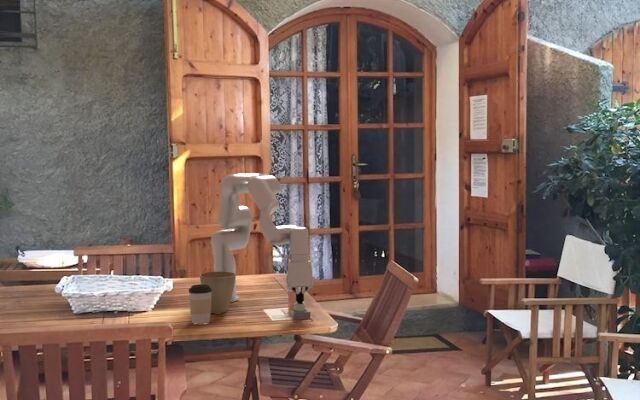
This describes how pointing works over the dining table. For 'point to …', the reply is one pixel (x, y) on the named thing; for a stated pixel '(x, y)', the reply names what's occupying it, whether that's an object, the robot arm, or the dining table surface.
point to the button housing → (300, 314)
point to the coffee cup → (200, 303)
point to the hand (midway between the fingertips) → (299, 303)
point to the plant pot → (219, 289)
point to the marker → (291, 299)
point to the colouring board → (278, 314)
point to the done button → (299, 307)
